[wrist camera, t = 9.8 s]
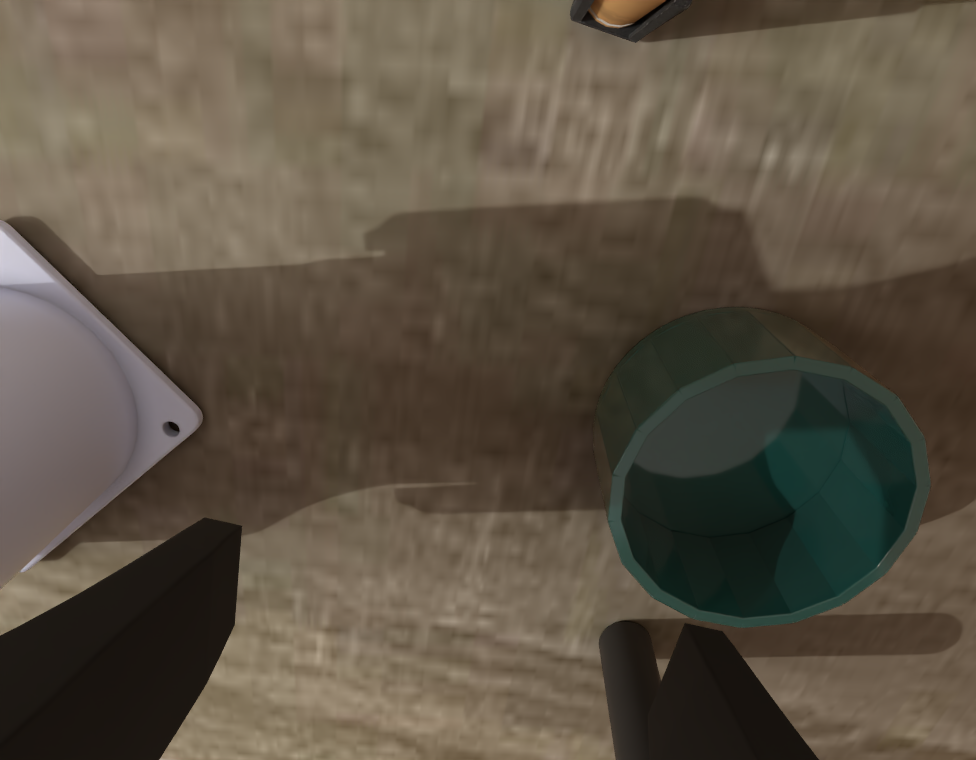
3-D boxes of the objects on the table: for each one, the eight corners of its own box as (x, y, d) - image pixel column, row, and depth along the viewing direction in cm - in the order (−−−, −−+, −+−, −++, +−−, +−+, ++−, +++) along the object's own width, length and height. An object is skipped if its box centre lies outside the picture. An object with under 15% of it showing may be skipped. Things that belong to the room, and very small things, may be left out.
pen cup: (741, 573, 23) (787, 670, 19) (543, 463, 22) (548, 543, 18) (909, 392, 20) (1002, 462, 16) (694, 254, 19) (739, 295, 15)
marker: (618, 668, 25) (662, 921, 17) (588, 636, 24) (620, 883, 17) (660, 644, 24) (725, 894, 17) (631, 612, 24) (683, 854, 16)
